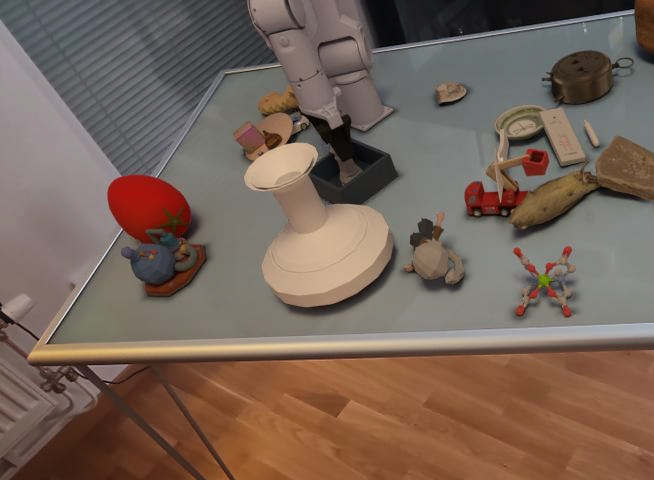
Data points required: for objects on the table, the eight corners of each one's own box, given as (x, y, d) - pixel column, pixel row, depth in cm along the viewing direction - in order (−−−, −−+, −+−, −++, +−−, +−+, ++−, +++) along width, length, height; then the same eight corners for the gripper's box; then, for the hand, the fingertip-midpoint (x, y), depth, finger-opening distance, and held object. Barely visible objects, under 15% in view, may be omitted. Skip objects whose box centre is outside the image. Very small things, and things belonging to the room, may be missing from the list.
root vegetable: (520, 232, 84) (508, 247, 89) (620, 176, 92) (604, 192, 97) (499, 201, 85) (488, 218, 89) (601, 148, 92) (586, 166, 97)
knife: (497, 121, 103) (503, 119, 102) (506, 147, 105) (511, 145, 105) (486, 173, 82) (493, 171, 81) (496, 203, 84) (504, 201, 84)
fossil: (433, 106, 118) (464, 113, 120) (437, 86, 116) (468, 93, 117) (433, 92, 124) (462, 98, 126) (436, 73, 122) (466, 80, 123)
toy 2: (421, 189, 91) (439, 230, 79) (467, 214, 95) (490, 257, 83) (387, 247, 95) (398, 294, 83) (432, 269, 99) (449, 317, 87)
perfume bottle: (252, 172, 121) (235, 157, 117) (239, 139, 128) (223, 123, 124) (299, 134, 120) (284, 118, 116) (284, 103, 126) (269, 86, 122)
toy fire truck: (471, 203, 98) (456, 150, 91) (555, 202, 94) (547, 147, 86) (466, 217, 96) (450, 164, 89) (551, 216, 92) (542, 161, 84)
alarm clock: (556, 113, 109) (644, 87, 109) (554, 84, 105) (645, 57, 105) (540, 85, 116) (622, 61, 116) (537, 57, 112) (622, 32, 112)
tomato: (172, 186, 116) (219, 216, 111) (138, 235, 116) (183, 268, 110) (116, 148, 104) (164, 180, 99) (78, 204, 104) (124, 238, 99)
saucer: (529, 110, 111) (527, 97, 110) (561, 129, 106) (560, 116, 104) (485, 135, 110) (483, 122, 108) (516, 155, 104) (514, 142, 102)
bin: (312, 193, 110) (302, 172, 107) (360, 158, 114) (350, 137, 111) (349, 213, 104) (339, 191, 101) (398, 176, 108) (389, 153, 104)
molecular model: (523, 278, 85) (513, 237, 80) (580, 278, 83) (574, 235, 77) (513, 316, 81) (502, 276, 76) (573, 318, 79) (566, 276, 73)
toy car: (255, 147, 126) (248, 136, 124) (305, 120, 129) (300, 108, 127) (261, 154, 124) (254, 142, 122) (312, 125, 126) (306, 114, 124)
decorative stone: (710, 170, 90) (618, 166, 99) (706, 131, 85) (609, 131, 94) (683, 215, 86) (589, 206, 95) (677, 177, 81) (579, 172, 90)
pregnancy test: (561, 167, 98) (561, 161, 97) (538, 116, 104) (539, 110, 103) (605, 157, 99) (606, 152, 98) (580, 108, 105) (581, 102, 104)
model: (179, 297, 100) (143, 254, 93) (136, 295, 102) (97, 254, 95) (215, 246, 106) (184, 203, 99) (173, 246, 109) (140, 204, 102)
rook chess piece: (357, 191, 107) (339, 151, 101) (337, 188, 109) (319, 149, 103) (371, 175, 109) (354, 135, 103) (351, 173, 111) (333, 133, 105)
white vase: (274, 335, 89) (199, 234, 74) (280, 249, 102) (217, 148, 87) (405, 298, 88) (356, 187, 73) (395, 215, 101) (350, 107, 86)
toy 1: (261, 118, 137) (340, 78, 140) (272, 130, 128) (356, 87, 131) (248, 94, 133) (329, 54, 137) (258, 105, 124) (345, 62, 128)
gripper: (345, 75, 90) (376, 156, 100) (312, 47, 99) (344, 123, 109) (302, 96, 88) (338, 176, 99) (272, 66, 97) (309, 141, 108)
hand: (339, 150), depth 104 cm, fingers open, 7 cm apart
